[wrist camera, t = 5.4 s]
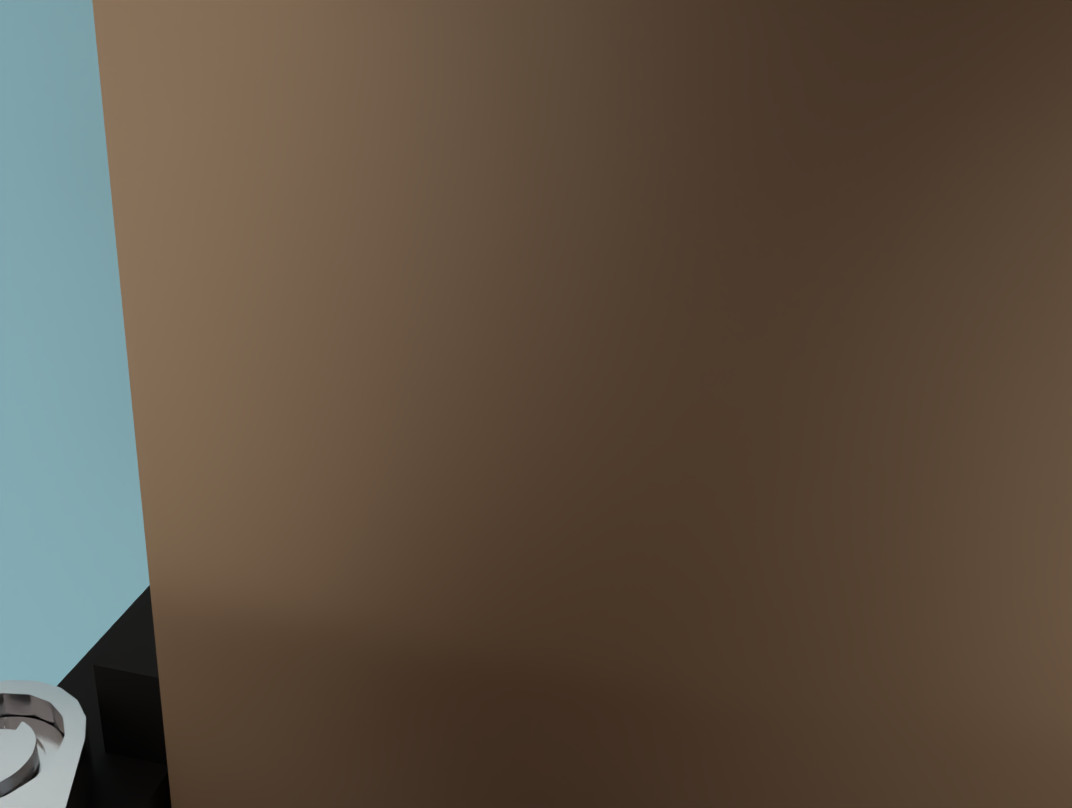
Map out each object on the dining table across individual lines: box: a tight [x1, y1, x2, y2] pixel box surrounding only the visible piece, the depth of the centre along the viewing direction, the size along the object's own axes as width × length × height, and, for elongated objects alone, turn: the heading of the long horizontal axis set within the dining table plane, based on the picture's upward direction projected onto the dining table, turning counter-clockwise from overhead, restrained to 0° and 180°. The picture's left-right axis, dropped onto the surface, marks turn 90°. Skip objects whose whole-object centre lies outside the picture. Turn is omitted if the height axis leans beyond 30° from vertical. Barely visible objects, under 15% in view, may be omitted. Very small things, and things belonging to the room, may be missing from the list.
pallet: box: [92, 0, 1072, 808], centre depth 8 cm, size 6×22×5 cm, turn 174°
